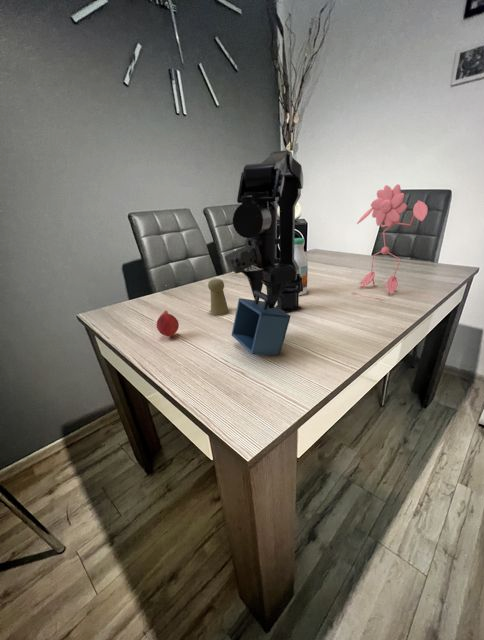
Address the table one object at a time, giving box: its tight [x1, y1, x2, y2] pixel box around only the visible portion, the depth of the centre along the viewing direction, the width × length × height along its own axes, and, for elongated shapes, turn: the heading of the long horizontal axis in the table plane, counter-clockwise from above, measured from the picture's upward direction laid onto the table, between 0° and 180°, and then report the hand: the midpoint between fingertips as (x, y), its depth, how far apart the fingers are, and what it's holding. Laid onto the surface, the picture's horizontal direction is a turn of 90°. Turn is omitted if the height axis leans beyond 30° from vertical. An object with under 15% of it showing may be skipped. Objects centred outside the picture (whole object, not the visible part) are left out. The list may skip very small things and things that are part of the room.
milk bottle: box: [294, 237, 309, 296], centre depth 103 cm, size 8×8×20 cm
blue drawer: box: [231, 290, 292, 356], centre depth 67 cm, size 13×12×8 cm
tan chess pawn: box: [207, 278, 229, 316], centre depth 91 cm, size 6×6×11 cm
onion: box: [156, 310, 180, 338], centre depth 77 cm, size 6×6×8 cm
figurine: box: [354, 183, 429, 300], centre depth 95 cm, size 15×26×35 cm, turn 34°
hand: (263, 303), depth 66 cm, fingers closed on blue drawer, 7 cm apart
